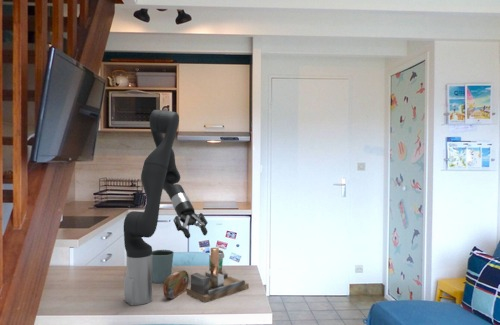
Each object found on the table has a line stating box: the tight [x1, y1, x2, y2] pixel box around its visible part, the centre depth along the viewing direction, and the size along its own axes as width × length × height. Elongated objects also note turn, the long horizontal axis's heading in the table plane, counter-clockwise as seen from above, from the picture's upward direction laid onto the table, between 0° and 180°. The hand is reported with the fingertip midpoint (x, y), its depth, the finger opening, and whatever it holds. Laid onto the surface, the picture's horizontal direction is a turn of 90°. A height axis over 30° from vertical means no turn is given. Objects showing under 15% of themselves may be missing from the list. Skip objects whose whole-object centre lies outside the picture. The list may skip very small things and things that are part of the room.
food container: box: [208, 249, 225, 275], centre depth 175 cm, size 12×6×10 cm, turn 179°
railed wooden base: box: [186, 272, 250, 303], centre depth 153 cm, size 22×12×8 cm, turn 133°
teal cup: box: [152, 249, 174, 284], centre depth 166 cm, size 10×10×12 cm
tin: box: [162, 269, 190, 299], centre depth 150 cm, size 15×3×8 cm, turn 159°
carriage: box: [204, 247, 224, 288], centre depth 152 cm, size 3×8×15 cm, turn 43°
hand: (197, 235), depth 160 cm, fingers open, 8 cm apart
